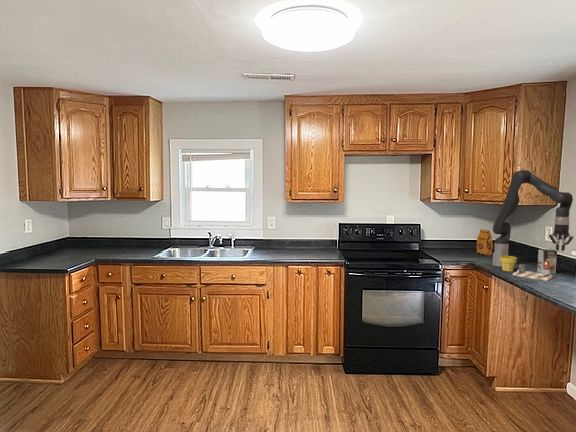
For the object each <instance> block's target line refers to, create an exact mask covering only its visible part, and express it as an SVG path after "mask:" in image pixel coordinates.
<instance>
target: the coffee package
mask: <svg viewBox="0 0 576 432" xmlns="http://www.w3.org/2000/svg"><path fill="white" fill-rule="evenodd" d="M476 237H477V238H476V253H477V254H479V253H480V254H479V255H482V254H484V256H493V249H494V245H493V237H492V234H491V231H490V230H489V229H487V230H486V229H479V233H478V235H477V236H476Z"/></svg>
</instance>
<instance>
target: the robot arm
mask: <svg viewBox="0 0 576 432" xmlns="http://www.w3.org/2000/svg"><path fill="white" fill-rule="evenodd" d="M522 184H529V185H531V186H533V187H535V188H536V190H537V191H539V192H540V193H541V194H542V195H545V196H547V197H549V198H550V199H551V200H552V201H553V202H555V203H557V204H559V206H558V207H557V208H556V210H555V217H554V228H553V229H554V230H553V231H554V232H553V233H551V234H549V235H548V238H549V240H551V243H552V244H555V250H556V251H557V252H558V251H560V249H561V252H564V251H565V249H566V245H569V244H570V243H571V242H572V241H573V239H574V236H573V235H570V232H569V231H570V210H571V207H572V204H573V201H574V198H573V194H572V193H571V192H568V191H567V192H566V191H565V192H562V191H559V189H558V188H557V187H555V186H553V185H551V184H550V183H547V182H546V181H544V180H542V179H540V177H538V176H536V175H535V174H534V173H533V172H531V171H530V170H527V169H523V170H522V169H521V170H516V171H515V172H514V173H513V174H512V176H511V181H510V183H509V188H508V189H507V190H508V191H507V193H506V196H505V198H504V201H503V203H502V206H501V209H500V211H499V214H498V215H497V217H496V219H495V221H494V223H493V225H492V232H493V234H495V235H500V236H499V237H496V238H495V239H494V246H493V249H494V252H492V266H495V267H501V268H502V264H501V261H500V256H509V243H510V241H511V240H510V239H511V231H512V229H511V228H512V227H511V223H509V222H508V221H506V220H507V219H508V218H509V217H510V216H511V215H512V214H513V213H514V212H515V211H516V210H517V208H518V206H519V203H520V195H519V190H520V188H521V185H522ZM555 238H556V239H555ZM567 238H568V240H567ZM560 240H561V248H560ZM566 240H567V241H566Z"/></svg>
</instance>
